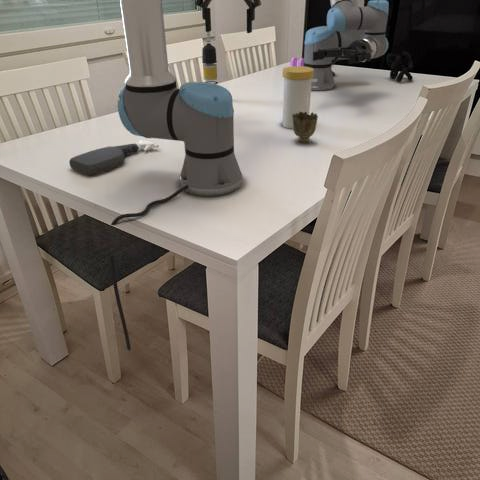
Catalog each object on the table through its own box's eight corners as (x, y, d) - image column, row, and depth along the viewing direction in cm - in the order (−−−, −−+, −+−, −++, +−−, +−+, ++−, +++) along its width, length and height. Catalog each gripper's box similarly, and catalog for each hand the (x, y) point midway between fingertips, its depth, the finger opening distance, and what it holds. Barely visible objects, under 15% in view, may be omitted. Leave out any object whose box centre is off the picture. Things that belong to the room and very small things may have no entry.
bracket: (300, 74, 213) (301, 59, 210) (290, 73, 216) (290, 57, 213) (313, 69, 222) (314, 54, 218) (303, 68, 225) (304, 53, 221)
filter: (220, 99, 177) (217, 15, 161) (206, 100, 176) (202, 16, 160) (215, 96, 182) (212, 14, 166) (202, 97, 180) (197, 14, 164)
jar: (287, 130, 144) (289, 74, 135) (278, 122, 151) (280, 69, 142) (312, 127, 146) (316, 72, 137) (302, 120, 153) (305, 67, 144)
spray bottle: (67, 168, 120) (139, 144, 136) (91, 178, 114) (163, 151, 130) (65, 157, 118) (137, 134, 134) (89, 167, 112) (162, 142, 128)
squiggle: (400, 92, 202) (376, 71, 205) (417, 76, 202) (392, 56, 205) (405, 81, 191) (380, 59, 194) (423, 64, 191) (397, 42, 194)
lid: (288, 80, 136) (288, 73, 134) (278, 74, 143) (278, 67, 142) (318, 78, 138) (318, 71, 136) (306, 72, 145) (306, 65, 144)
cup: (287, 143, 133) (288, 116, 129) (296, 135, 139) (297, 110, 135) (310, 147, 130) (312, 119, 126) (319, 139, 136) (321, 113, 132)
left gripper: (272, -51, 127) (270, 31, 138) (192, -49, 134) (197, 29, 145) (264, -51, 121) (263, 34, 132) (181, -49, 128) (187, 32, 139)
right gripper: (392, 64, 156) (364, 73, 142) (330, 59, 170) (299, 66, 157) (396, 40, 152) (367, 47, 139) (331, 37, 167) (300, 43, 153)
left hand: (228, 32), depth 139 cm, fingers open, 13 cm apart
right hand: (331, 57), depth 147 cm, fingers open, 13 cm apart
